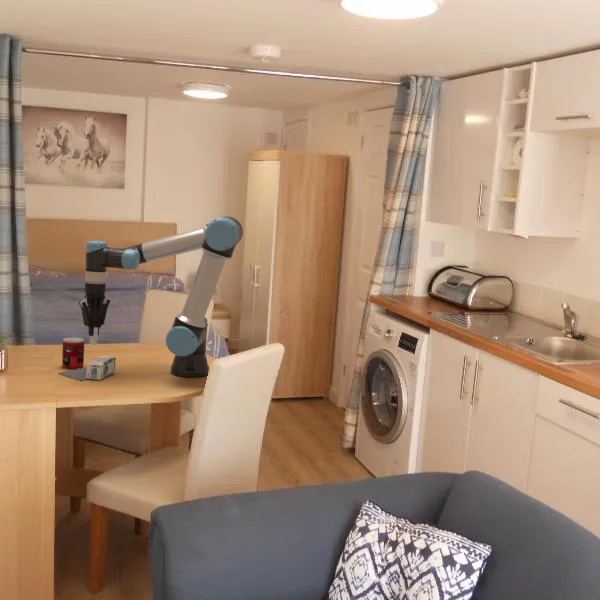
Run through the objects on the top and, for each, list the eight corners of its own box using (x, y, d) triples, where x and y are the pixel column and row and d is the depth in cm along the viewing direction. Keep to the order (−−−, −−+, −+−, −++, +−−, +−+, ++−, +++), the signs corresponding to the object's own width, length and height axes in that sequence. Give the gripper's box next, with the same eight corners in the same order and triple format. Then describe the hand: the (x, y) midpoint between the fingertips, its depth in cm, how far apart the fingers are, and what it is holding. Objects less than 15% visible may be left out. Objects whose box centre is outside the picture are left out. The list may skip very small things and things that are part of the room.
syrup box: (115, 371, 284) (100, 380, 269) (100, 369, 284) (84, 378, 270) (116, 356, 283) (100, 365, 268) (101, 355, 283) (85, 363, 269)
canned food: (60, 365, 288) (61, 337, 287) (81, 364, 292) (82, 337, 290) (64, 369, 282) (64, 341, 280) (85, 368, 285) (86, 341, 284)
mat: (113, 375, 279) (113, 374, 279) (81, 381, 267) (81, 380, 267) (90, 367, 287) (90, 366, 287) (57, 373, 275) (57, 372, 275)
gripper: (103, 280, 282) (101, 340, 285) (74, 281, 272) (72, 344, 275) (115, 282, 278) (113, 343, 281) (87, 284, 267) (85, 348, 271)
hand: (93, 343), depth 278 cm, fingers closed
